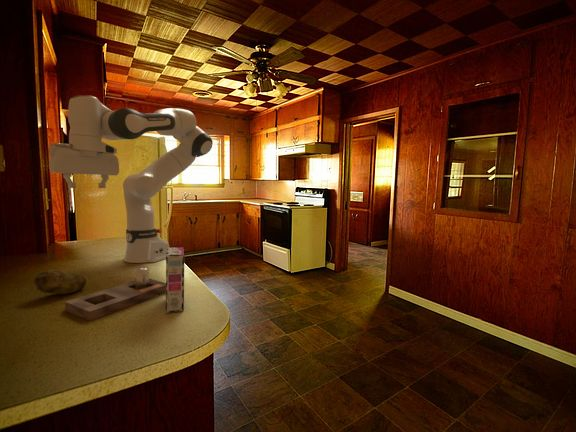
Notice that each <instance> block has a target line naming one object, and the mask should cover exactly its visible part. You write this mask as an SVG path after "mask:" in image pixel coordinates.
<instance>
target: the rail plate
mask: <svg viewBox="0 0 576 432" xmlns="http://www.w3.org/2000/svg"><path fill="white" fill-rule="evenodd" d="M165 292H166V282H163V281H160V280H157V279H152V278H149V287H147V288H144V289H141V290H136V289H135V280H133V281H130V282H126V283H123V284H119V285H116V286H113V287H109V288H107V289H102V290H100V291H95V292H93V293H89V294H86V295H83V296H79V297H75V298H73V299H69V300H66V301H64V309H65V311H66V312H68V313H71V314H73V315H75V316H78V317H79V318H82V319H84V320H87V321H90V322H91V321H93V320H96V319H99V318H101V317H104V316H108V315H109V314H112V313H115V312H118V311H120V310H123V309H125V308H129V307H131V306H135V305H137V304H139V303H143V302H146V301H147V299H148V300H150V298H151V299H154V298H156V297H158V296H157V295H159V296H161V295H163V294H162V293H164V294H166V293H165ZM160 294H161V295H160ZM155 296H156V297H155ZM142 301H143V302H142Z"/></svg>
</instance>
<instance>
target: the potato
mask: <svg viewBox="0 0 576 432" xmlns="http://www.w3.org/2000/svg"><path fill="white" fill-rule="evenodd" d="M33 283H34V286H36V289H37V290H38V291H41V292H42V293H44V294H56V295H68V294H72V293H75V292H78V291H80V290H81V289H83V288H84V287H85V286H86V285H87V279H86V277H85V276H83V275H81V274H77V273H69V272H65V271H61V270H57V269H51V270H50V269H48V270H44V271H42V272H39V273H38V274H37V275H35V277H34V280H33Z"/></svg>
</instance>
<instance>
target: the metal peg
mask: <svg viewBox="0 0 576 432" xmlns="http://www.w3.org/2000/svg"><path fill="white" fill-rule="evenodd" d="M149 272H150V268H149V267H148V266H138V267H134V281H135V289H136V290H141V289H144V288H147V287H149V279H150V273H149Z"/></svg>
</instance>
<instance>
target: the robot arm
mask: <svg viewBox="0 0 576 432" xmlns="http://www.w3.org/2000/svg"><path fill="white" fill-rule="evenodd" d="M67 109H68V111H67V113H68V114H67V115H68V116H67V118H68V119H67V120H68V124H69V127H70V128H69V133H68V143H60V142H54V143H51V144H49V146H48V152H49V164H48V169H49V171H50V172H51V173H54V174H62V177H63V179H64V180H65V181H66V182H67V188H68V189H76V187H77V186H76V185H77V184H76V182H73V180H72V174H74V175H75V174H77V175H96V176H100V178H101V179H102V180H101V181H100V182H98V183H97V186H98V189H106V187H107V185H106V184H107V182H108V180H109V179H110V178H109V177H110V176H118V175H119V173H120V163H119V158H118V156H117V155H116V154H117V152H118V149H117V148H116V147H114V146H112V145H110V144H108V143H106V142H104V141H102V139H103V140H104V139H105V140H108V141H117V140H118V141H119V140H135V139H137V138H140V137H141V136H143V135H144V134H145V133H149V132H150V133H151V132H152V133H153V132H157V134H158V135H160V136H165V137H166V136H168V137H169V136H170V137H171V136H172V137H173V138H174V139H175V140H177V142H179V144H178V146H175V148H172V149H171V150H168V151H167V152H166V153H164V154H163V155H161V156H159V157H158V158H157V159H155V160H153V161H152V162H151V163H150V164H149V165H148V166H147V167H145V168H144V169H143V170H142V171H140V172H139V173H133V174H129V175H128V176H126V178H124V181H123V183H122V188H123V189H122V190H123V196H124V204H125V209H126V229H125V239H126V247H125V249H126V250H125V254H124V258H123V262H125V263H131V264H132V263H133V264H139V263H140V264H143V263H156V262H160V261H163V260H166V252H167V248H171V247H170V244H169V242H167V241H166V240H165V239H163V238H162V237H160V236H159V235H158V234H161V233H162V232H163V230H162V228H155V211H154V208H153V205H152V199H151V198H153V197H154V196H156V195H157V193H159V192H160V191H161V190H162V189H163V188H164V187H165V186H166V185H167V184H168V183H169V182H170V181H172V180H173V179H174V178H176V177H177V176H179V175H181V173H183V172H184V171H186V170H187V169H188V168H190V166H191V165H192V164H193V162H194V161H195V160H196V158H200V157H202V156H205V155H207V154H208V153H209V152H210V151H211V150H212V149H213V148H212V147H213V139H212V137H211V136H210V135H209V134H208V133H206V132H205V131H204V130H203V129H202V128H201V127H199V126H197V118H196V116H195V114H194V113H193V112H192V111H191V110H189V109H183V108H175V107H167V108H161V109H157V110H155V111H154V112H153V113H152V112H151V113H143V112H139V111H137V110H135V109H132V108H129V107H123V108H119V109H116V110H112V109H110V108H108V107H107V106H106V105H104V104H103V103H102V102H101V101H100V100H99V99H98V97H96V96H93V95H89V94H87V95H85V94H82V95H79V94H78V95H75V96H72V97H71V98H70V99H69V103H68V108H67Z"/></svg>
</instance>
